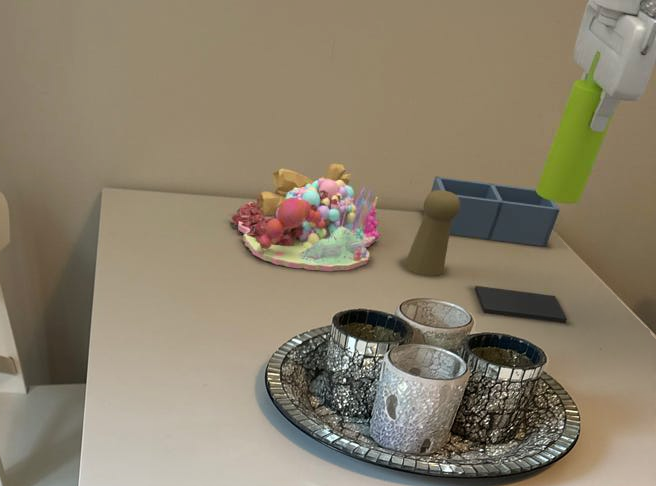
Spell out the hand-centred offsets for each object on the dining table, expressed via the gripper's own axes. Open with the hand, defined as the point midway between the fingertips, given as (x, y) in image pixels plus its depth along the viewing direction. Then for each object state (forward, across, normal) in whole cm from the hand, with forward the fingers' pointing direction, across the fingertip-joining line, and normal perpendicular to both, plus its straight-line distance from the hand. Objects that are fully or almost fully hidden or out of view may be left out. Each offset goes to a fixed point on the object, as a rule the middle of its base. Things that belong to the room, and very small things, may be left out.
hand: (588, 121), depth 117 cm
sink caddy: (+24, +30, 0) cm, 39 cm away
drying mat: (+24, 0, 0) cm, 25 cm away
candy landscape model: (+25, +16, +31) cm, 43 cm away
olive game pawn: (+25, +10, +13) cm, 30 cm away
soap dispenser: (+9, 0, 0) cm, 9 cm away
